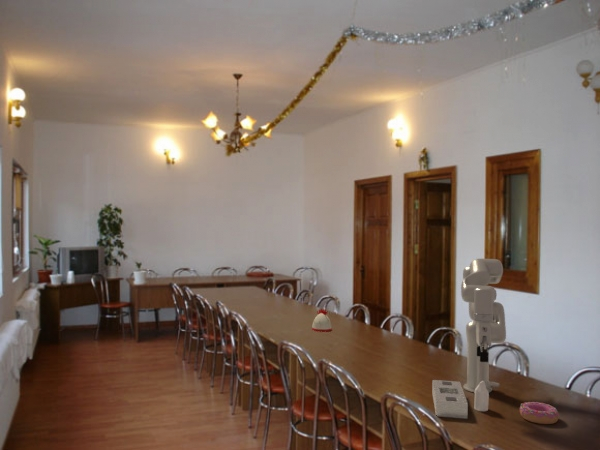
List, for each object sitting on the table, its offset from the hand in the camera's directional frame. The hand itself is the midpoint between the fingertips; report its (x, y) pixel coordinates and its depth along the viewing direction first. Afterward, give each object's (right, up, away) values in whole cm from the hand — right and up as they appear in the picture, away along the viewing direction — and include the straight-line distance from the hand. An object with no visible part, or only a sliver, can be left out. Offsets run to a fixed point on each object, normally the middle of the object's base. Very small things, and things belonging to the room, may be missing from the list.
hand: (482, 359), depth 225 cm
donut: (+19, -22, -9) cm, 30 cm away
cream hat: (-60, -19, +162) cm, 173 cm away
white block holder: (-13, -21, +5) cm, 25 cm away
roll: (0, -21, 0) cm, 21 cm away
